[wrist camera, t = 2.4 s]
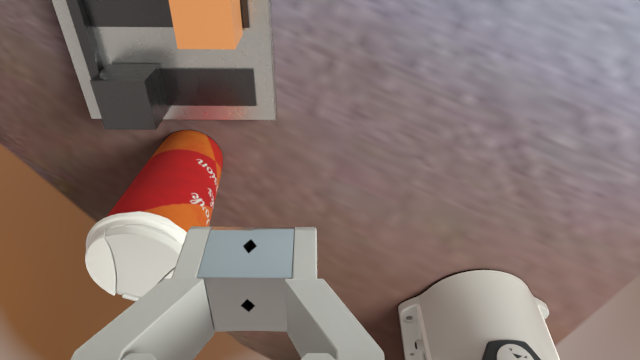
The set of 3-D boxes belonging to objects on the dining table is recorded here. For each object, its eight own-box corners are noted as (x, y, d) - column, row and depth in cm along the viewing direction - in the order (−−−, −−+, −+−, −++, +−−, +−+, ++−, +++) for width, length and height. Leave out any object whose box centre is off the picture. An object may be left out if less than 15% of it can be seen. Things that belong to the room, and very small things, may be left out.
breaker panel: (277, 109, 39) (271, 141, 34) (101, 108, 39) (71, 139, 34) (268, -52, 31) (258, -40, 27) (50, -54, 31) (2, -41, 27)
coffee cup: (220, 200, 45) (182, 321, 33) (142, 173, 43) (70, 290, 31) (246, 137, 41) (214, 249, 28) (160, 103, 39) (84, 208, 26)
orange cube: (242, 34, 33) (235, 49, 30) (190, 33, 33) (177, 49, 30) (237, -23, 30) (228, -13, 27) (180, -24, 30) (166, -14, 27)
